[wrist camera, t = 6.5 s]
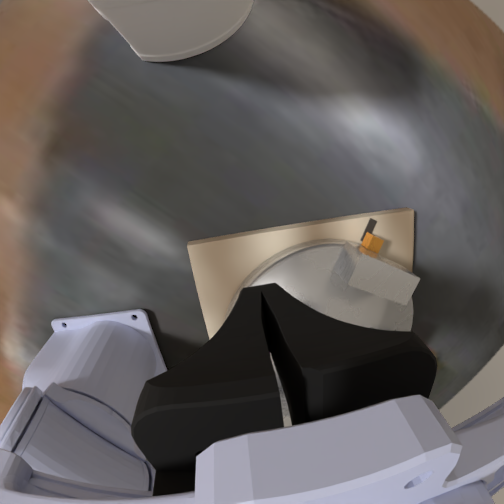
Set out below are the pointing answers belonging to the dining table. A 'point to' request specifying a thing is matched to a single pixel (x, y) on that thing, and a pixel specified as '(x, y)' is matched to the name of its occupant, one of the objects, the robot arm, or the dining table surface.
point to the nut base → (279, 238)
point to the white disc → (340, 285)
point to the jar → (174, 24)
